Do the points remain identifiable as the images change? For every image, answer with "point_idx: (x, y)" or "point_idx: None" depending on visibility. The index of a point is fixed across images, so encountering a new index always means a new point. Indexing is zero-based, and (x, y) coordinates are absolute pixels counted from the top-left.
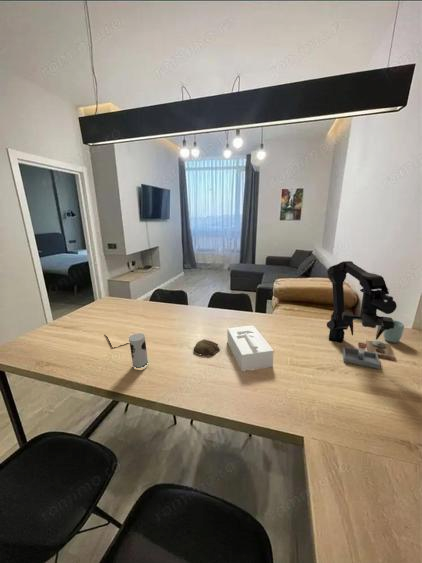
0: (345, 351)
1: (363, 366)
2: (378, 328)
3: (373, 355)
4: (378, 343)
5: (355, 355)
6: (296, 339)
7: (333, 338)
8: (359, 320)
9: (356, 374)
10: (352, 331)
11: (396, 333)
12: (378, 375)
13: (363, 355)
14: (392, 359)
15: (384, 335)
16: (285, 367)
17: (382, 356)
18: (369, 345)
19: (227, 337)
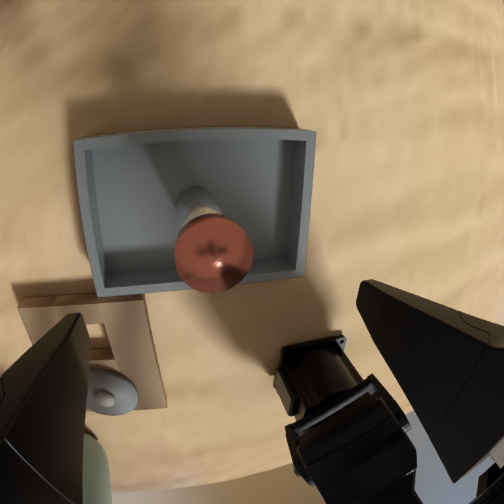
0: (280, 256)
1: (177, 128)
2: (63, 483)
3: (116, 277)
4: (107, 397)
5: None
6: (462, 264)
7: (329, 351)
8: (475, 499)
9: (232, 19)
10: (412, 303)
11: None
12: (97, 67)
13: (182, 206)
14: (30, 298)
15: (100, 454)
16: (495, 37)
17: (72, 299)
18: (146, 373)
19: None
